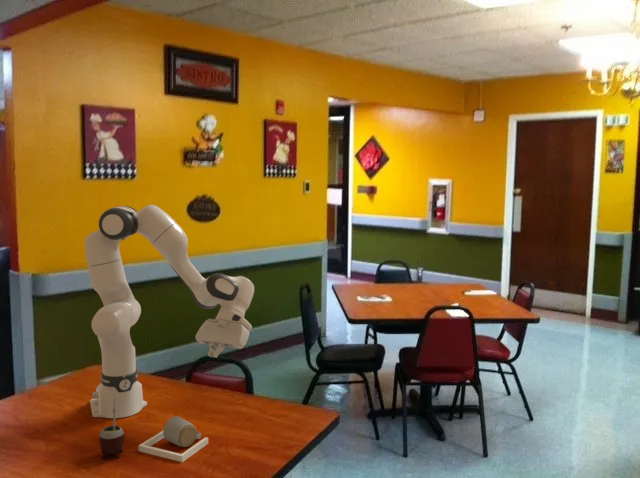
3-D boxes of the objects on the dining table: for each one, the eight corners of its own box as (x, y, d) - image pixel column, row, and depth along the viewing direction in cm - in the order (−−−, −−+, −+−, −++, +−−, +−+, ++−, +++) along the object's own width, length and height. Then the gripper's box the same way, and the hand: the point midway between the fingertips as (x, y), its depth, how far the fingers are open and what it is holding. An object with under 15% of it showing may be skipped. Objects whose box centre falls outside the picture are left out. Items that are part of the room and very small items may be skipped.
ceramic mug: (179, 452, 173) (179, 427, 173) (162, 444, 178) (162, 420, 178) (207, 440, 182) (207, 416, 181) (190, 433, 187) (190, 410, 186)
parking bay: (138, 451, 174) (138, 445, 173) (166, 433, 185) (166, 428, 185) (182, 462, 167) (182, 456, 167) (208, 443, 179) (208, 437, 179)
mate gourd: (107, 463, 166) (105, 413, 165) (93, 454, 171) (91, 405, 170) (131, 454, 172) (129, 405, 170) (116, 446, 177) (115, 398, 175)
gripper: (201, 313, 204) (184, 349, 197) (246, 317, 193) (229, 355, 186) (211, 322, 208) (195, 357, 201) (256, 327, 197) (240, 364, 190)
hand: (212, 356), depth 193 cm, fingers closed
